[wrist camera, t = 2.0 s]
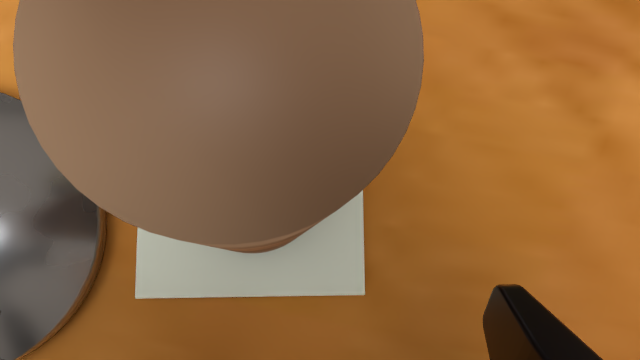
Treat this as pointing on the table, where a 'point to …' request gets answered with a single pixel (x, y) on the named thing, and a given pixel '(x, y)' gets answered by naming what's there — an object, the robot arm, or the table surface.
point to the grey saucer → (40, 239)
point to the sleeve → (219, 107)
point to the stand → (258, 264)
